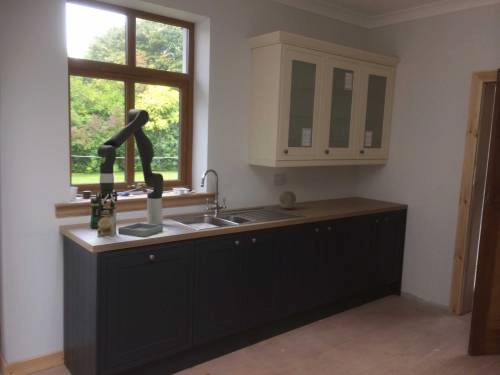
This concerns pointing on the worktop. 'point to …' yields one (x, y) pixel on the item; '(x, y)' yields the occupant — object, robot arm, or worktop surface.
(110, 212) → the coffee box
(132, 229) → the tray
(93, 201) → the coffee jar
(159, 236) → the worktop surface
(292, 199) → the cantaloupe
